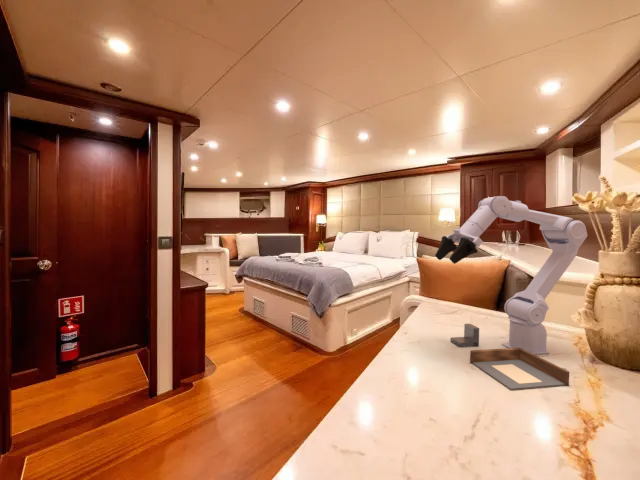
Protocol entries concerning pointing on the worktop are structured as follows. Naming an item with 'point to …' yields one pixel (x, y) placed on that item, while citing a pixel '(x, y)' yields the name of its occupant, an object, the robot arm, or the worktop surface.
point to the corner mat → (517, 374)
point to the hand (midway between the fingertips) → (444, 259)
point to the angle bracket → (467, 337)
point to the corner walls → (523, 356)
